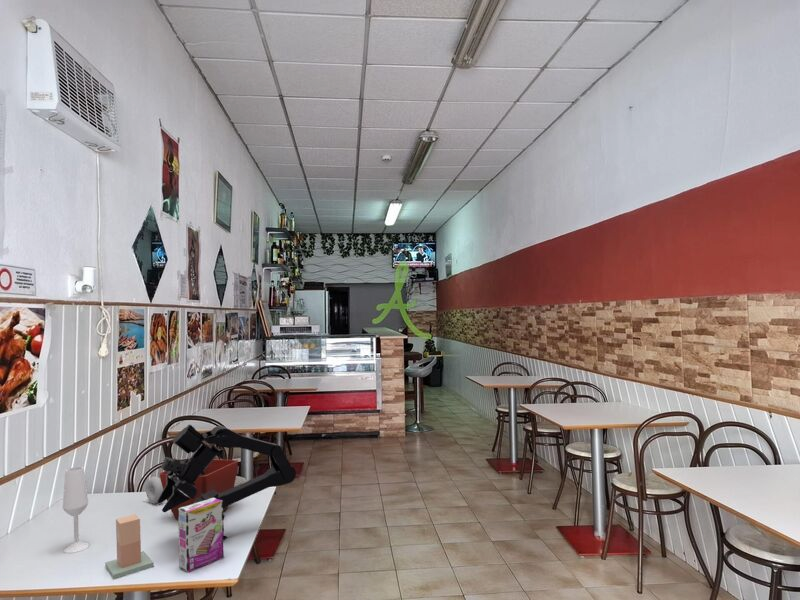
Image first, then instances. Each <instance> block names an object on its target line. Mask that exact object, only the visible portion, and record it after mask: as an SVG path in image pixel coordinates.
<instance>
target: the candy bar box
mask: <svg viewBox="0 0 800 600" xmlns="http://www.w3.org/2000/svg"><path fill="white" fill-rule="evenodd" d="M223 515H224V511H223V501H222V500H220V499H217V498H210V499H207V500H204V501H201V502H197V503H194V504H191V505H188V506H184V507H181V508H178V516H179V520H178V562H179V563H178V564H179V566H178V567H179V569H181V570H182V571H185V572H187V573H189V572H192V571H194V570H196V569H199V568H201V567H204V566H206V565H209V564H211V563H214V562H215V561H218V560H220V558H221V559H223V558H224V540H223V523H224V521H223Z"/></svg>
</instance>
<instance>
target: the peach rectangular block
mask: <svg viewBox="0 0 800 600" xmlns="http://www.w3.org/2000/svg"><path fill="white" fill-rule="evenodd" d="M115 531H116V532H115V533H116V540H115V541H116V559H117V563H118V564H119V566H120V567H121V568H125V567H128V566H131V565H134V564H138V563H141V552H142V546H141V545H142V540H141V539H142V538H141V518H140V517H139V516H138V515H137V514H131V515H127V516H122V517H120V518H119V517H118V518H116V519H115Z"/></svg>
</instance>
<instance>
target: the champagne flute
mask: <svg viewBox="0 0 800 600" xmlns="http://www.w3.org/2000/svg"><path fill="white" fill-rule="evenodd" d="M64 472H65V473H64V486H63V498H62V509H63V511H64V512H65V513H66V514H67V515H70V516H71V517H73V540H74V541H73V542H72V543H71V544H69V546H67V547H66V548H65V549H64V550H63V552H64V553H66V554H67V553H68V554H71V553H78V552H81V551H84V550H86V549H88V548H89V546H90V543H86V542H83V541H81V540H79V539H80V538H79V536H80V533H79V516H80V515H81V514H82V513H83V512H84V510H86V509H87V506H88V505H89V498H88V491H87V484H86V483H87V482H86V475H85V470H84V466H73V467H69V468H67V469H65V471H64ZM77 551H78V552H77Z"/></svg>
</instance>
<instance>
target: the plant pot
mask: <svg viewBox="0 0 800 600" xmlns="http://www.w3.org/2000/svg"><path fill="white" fill-rule="evenodd" d="M238 462H239V461H238V460H237V459H220V458H219V459H218V458H217V459H215V458H214V459H213V461H212V462H211V463H210V464H209V465H208V467H207V468H206V469H205V470H204V471H205V473H204V474H203V475H202V474H201V475H200V476H199V477H198V478H197V480H196V481H195V482H194V483H195V485H194V486H195V487H196V488H197V495H196V496H195V497H194V498H193V499H192V498H190V500H187V501H185V502H183V503H181V504H180V505H178V506H176V507H174V508H172V509H170V511H171V514H172V515H173V517H174V519H175V520H176V521H179V516H178V508H181V507H184V506H188V505H191V504H193V503H194V502H195V500H196V499H197V498H198V497H200V496H201V495H200V494H204V493H207V492H208V491H210V490H212V489H214V490H215V491H216V492H217V493H221V492H224V491H226V490H229V489H231V488H233V487H235V483H236V480H237V479H236V478H237V473H238V472H237V471H238V466H239V465H238V464H239V463H238ZM167 472H168V471H164V470H163V471H162V472H160V473H159V478H160V479H161V483H162V487H163V489H164V488H165V486H166V483H167V481H166V475H167ZM167 476H168V477H169V475H167ZM169 498H170V497H169ZM169 498H168V499H166V502H167V501H168V500H169ZM229 506H230V505H228V506H227V507H226V508H225V509H224V510H223V512H225V511H227V510H228V509H229Z"/></svg>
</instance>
